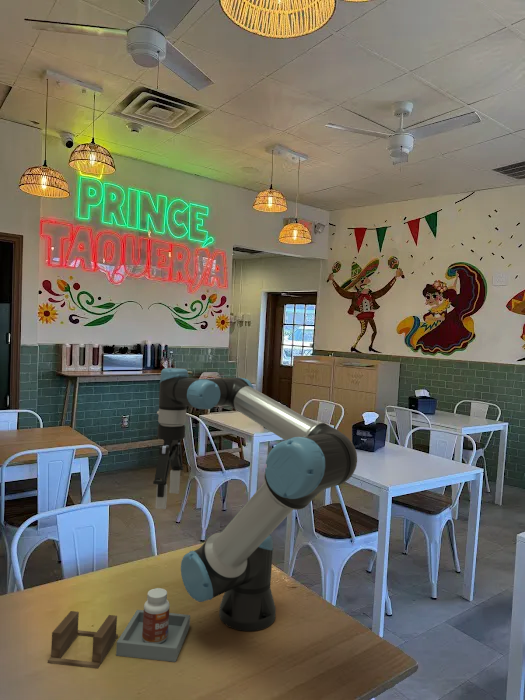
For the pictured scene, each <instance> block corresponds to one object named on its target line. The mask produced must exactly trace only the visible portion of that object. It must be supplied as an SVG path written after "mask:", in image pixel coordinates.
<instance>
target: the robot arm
mask: <svg viewBox="0 0 525 700" xmlns="http://www.w3.org/2000/svg"><path fill="white" fill-rule="evenodd" d="M158 393H159V397H158V399H159V400H158V410H157V412H156V414H157V415H158V418H157V419H158V420H157V421H158V423H159V424H158V425H157V432H156V433H157V438H158V439H159V440H163V445H159V451H158V458H157V463H156V464H157V465H156V467H155V468H156V469H155V474H154V480H153V481H152V484H153V485H156V491H155V493H156V494H155V508H154V509H157V510H166V509H167V500H168V499H167V498H168V491H169V494H177V495H179V494H180V486H181V485H180V483H181V471H183V470H184V466H183V453H182V440H184V439H185V437H186V425H185V424H186V423H187V407H191V408H196V409H197V410H211V409H213V408H215V407H221V406H222V407H223V406H224V407H225V406H228V407H231V408H232V409H234V410H236V411H237V412H240V413H241V414H242V415H244V416H246V417H247V418H249V419H251V421H254V422H255V423H257V424H258V425H260V426H262V427H263V428H265V429H267V430H268V431H270V432H271V433H273V434H274V435H275V436H278V437H279V438H281V439H282V441H281V442H278V443H277V444H275V446H273V447H272V449H271V450H270V451H269V453H268V455H267V457H266V460H265V464H266V467H265V468H264V473H263V474H264V475H263V478H264V479H263V480H264V482H263V483H262V484H261V486H260V487H259V488H258V489H257V490H256V491H255V493H254V494H253V495H252V496H251V497H250V499H248V501H247V502H246V503H245V504H244V506H243V507H242V508H241V509H240V510H239V511H238V513H237V514H236V515H235V516H234V517H233V518H232V519H231V521H230V522H229V523H228V524H227V525H226V527H224V529H222V531H221V532H215V533H213V534H211V535H210V536H209V537H208V538H207V539H206V540H205V542H204V543H203V544H202V545H200V547H198V549H197V548H196V549H195V550H189V552H187V553H186V554H185V555H183V557H182V559H181V561H180V576H181V579H182V580H181V581H182V582H183V583H182V584H183V586H184V588H185V590H186V592H187V593H188V595H189V596H190V597H191V598H192V599H193V600H194V601H197V602H202V603H203V602H206V601H211V600H213V598H216V597H218V596H220V595H222V594H223V596H222V599H221V602H220V604H219V613H218V614H219V619H220V621H221V622H222V623H223V624H224V625H226V626H227V627H229V628H232V629H235V630H237V631H243V632H244V631H245V632H255V631H261V630H263V629H266V628H269V627H270V626H271V625H272V624H273V623H274V622H275V620H276V612H277V611H276V609H277V608H276V605H275V600H274V596H273V592H272V589H271V583H272V582H271V580H272V568H273V567H272V565H273V554H274V553H273V552H274V546H273V541H274V540H273V539H274V538H273V537H272V533H273V532H274V531H275V530H276V529H277V528H278V527H279V525H281V523H282V522H283V521H284V520H285V519H286V518H287V517H288V516H289V514H291V513H292V511H294V510H295V511H300V510H304V509H305V508H306V507H307V506H309V504H311V502H312V501H313V500H315V498H316V497H317V496H318V495H319V494H320V493H321V492H323V491H324V490H327V489H330V488H333V487H336V486H340V485H342V484H345V483H346V482H348V480H350V478H351V477H352V476H353V475H354V473H355V471H356V470H357V464H358V454H357V450H356V447H355V445H354V443H353V442H352V440H351V439H350V438H349V437H348V436H346V434H344V433H343V432H341V431H340V430H338V429H336V427H335V428H334V427H333V426H331V425H329V424H328V423H325V422H318V423H317V422H315V421H313V420H312V419H309V418H307V416H304V415H302V414H301V413H299V412H297V411H295V410H293V409H291V408H289V407H288V406H286V405H285V404H283V403H281V402H279V401H277V400H275V399H273V398H271V397H269V396H268V395H266V394H264V393H262V392H260V391H259V390H257V389H255V388H254V386H253V383H252V382H251V381H250V380H249V379H247V378H244V377H227V378H226V377H224V378H222V377H221V378H196V377H195V378H193V377H189V371H188V370H187V369H185V368H177V367H166V368H163V369H162V370H161V371H160V381H159V392H158ZM170 469H171V470H170ZM169 473H170V474H169ZM168 477H169V490H168V483H167V481H168Z"/></svg>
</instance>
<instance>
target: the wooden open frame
mask: <svg viewBox="0 0 525 700" xmlns="http://www.w3.org/2000/svg"><path fill="white" fill-rule="evenodd" d="M79 613H80V611H74V610H71V611H69V612H68V614H67V615H66V616H65V617H64V618H63V619H62V620H61V622H59V624H58V625H57V626H56V627H55V628H54V630H53V631H52V632H51V645H50V646H51V647H50V657H49V658H48V659H47V663H48V664H54V665H65V666H73V667H82V668H83V667H84V668H91V669H99V667H100V665H102V663H103V661H104V659H105V658H106V657H107V655H108V653H109V652H110V650H111V649H112V647H113V645H114V643H115V642H117V641H116V640H117V639H119V634H118V633H117V628H118V627H117V624H118V622H117V621H118V616H117V615H114V614H109V615H108V616H107V617H106V619H105V620H104V621H103V623H102V624H101V625H100V627H99V628H98V629H97V631H91V630H90V631H89V630H81V629H79V615H80V614H79ZM78 636H83V637H91V638H92V653H91V654H92V656H91V657H92V658H91V661H87V660H78V659H68V658H62V657H63V656H64V655H65V653H66V652H67V650H68V649H69V648H70V646H71V645H72V644H73V643H74V642H75V640H76V639H77V638H78Z"/></svg>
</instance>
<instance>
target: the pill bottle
mask: <svg viewBox="0 0 525 700" xmlns="http://www.w3.org/2000/svg"><path fill="white" fill-rule="evenodd" d="M146 598H147V600H146V601H145V602H144V604H143V610H144V613H143V631H142V638H143V640H144V641H145V642H146V643H155V644H159V643H162V642H164V641H165V640H166V639H167V637H168V625H169V613H170V602H169V599H167V598H168V591H167V590H166V589H165V588H162V587H161V588H160V587H156V588H152V589H150V590H148V591H147V595H146Z"/></svg>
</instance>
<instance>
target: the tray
mask: <svg viewBox="0 0 525 700" xmlns="http://www.w3.org/2000/svg"><path fill="white" fill-rule="evenodd" d="M143 613H144V609H136V611H135V612H134V613H133V616H132V617H131V619H130V620H129V622H128V623H127V625H126V627H125V628H124V630H123V631H122V633H121V635H120V636H119V637H118V638H117V639H118V640H117V641H116V647H115V651H116V652H115V655H116V657H126V658H136V659H145V660H153V661H154V660H155V661H162V662H164V661H165V662H173V663H176V662H177V659H178V656H180V655H179V654H180V652H181V649H182V647H183V645H184V643H185V640H186V637H187V635H188V632H189V630H190V626H191V615H190V614H184V613H183V614H182V613H174V612H169V625H168V637H167V639H166V640H165V641H164V642H162V643H159V644H155V643H146V642H145V641H144V640H143V638H142V631H143Z"/></svg>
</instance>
